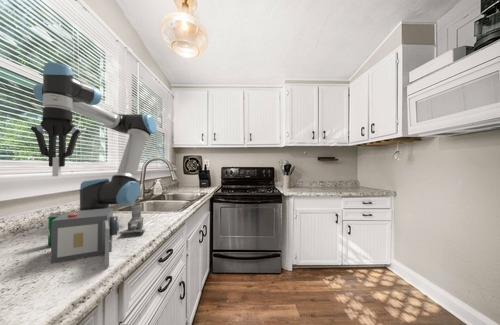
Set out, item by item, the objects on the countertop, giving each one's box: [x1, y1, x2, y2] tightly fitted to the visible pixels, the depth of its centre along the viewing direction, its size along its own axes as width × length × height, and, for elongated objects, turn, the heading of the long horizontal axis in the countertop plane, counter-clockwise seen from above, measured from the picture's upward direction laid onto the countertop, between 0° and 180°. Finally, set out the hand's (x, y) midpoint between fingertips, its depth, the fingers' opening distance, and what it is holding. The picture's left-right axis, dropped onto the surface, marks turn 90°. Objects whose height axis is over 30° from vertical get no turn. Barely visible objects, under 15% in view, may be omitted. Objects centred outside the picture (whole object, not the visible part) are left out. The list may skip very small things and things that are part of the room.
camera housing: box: [50, 207, 120, 264], centre depth 71 cm, size 14×16×14 cm
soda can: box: [47, 211, 67, 247], centre depth 76 cm, size 5×5×12 cm
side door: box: [101, 220, 113, 268], centre depth 62 cm, size 2×12×11 cm, turn 37°
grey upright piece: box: [119, 203, 146, 235], centre depth 91 cm, size 9×12×15 cm
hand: (56, 176), depth 69 cm, fingers closed
